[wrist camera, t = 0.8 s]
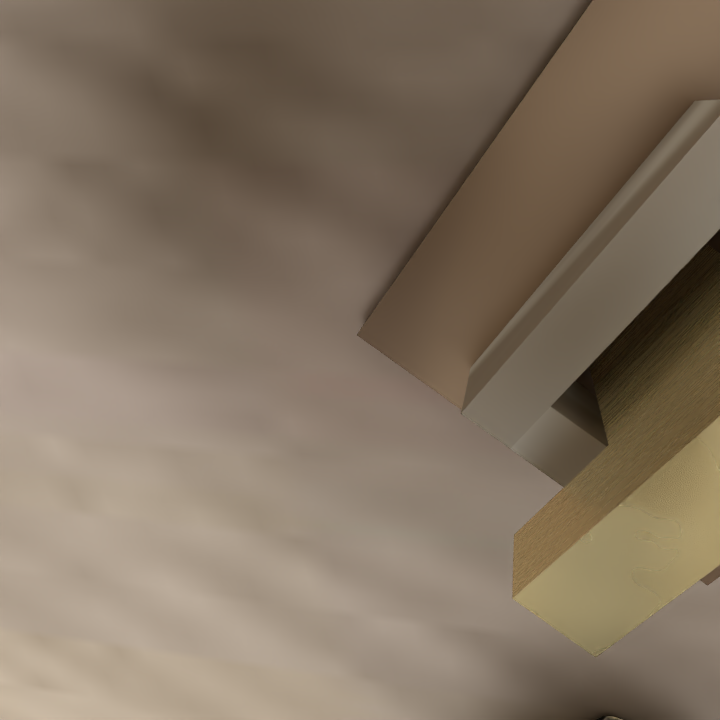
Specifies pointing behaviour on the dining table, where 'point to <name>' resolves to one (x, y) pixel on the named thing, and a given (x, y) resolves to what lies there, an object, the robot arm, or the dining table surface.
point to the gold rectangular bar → (637, 476)
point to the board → (567, 230)
